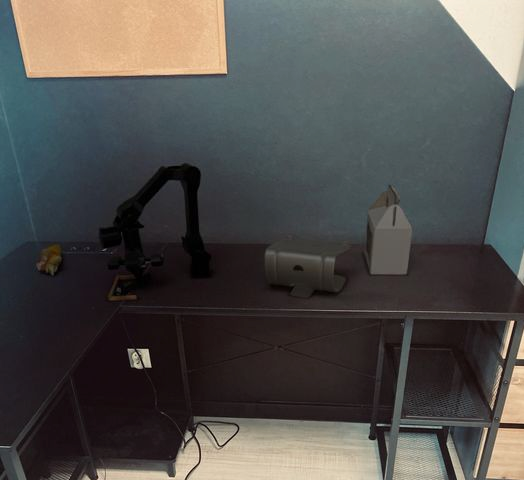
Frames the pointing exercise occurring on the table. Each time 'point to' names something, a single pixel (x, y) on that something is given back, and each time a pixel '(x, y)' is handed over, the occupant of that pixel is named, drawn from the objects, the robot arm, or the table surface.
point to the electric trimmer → (132, 284)
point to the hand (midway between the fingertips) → (140, 284)
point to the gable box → (387, 236)
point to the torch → (50, 259)
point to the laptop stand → (304, 265)
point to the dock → (112, 291)
